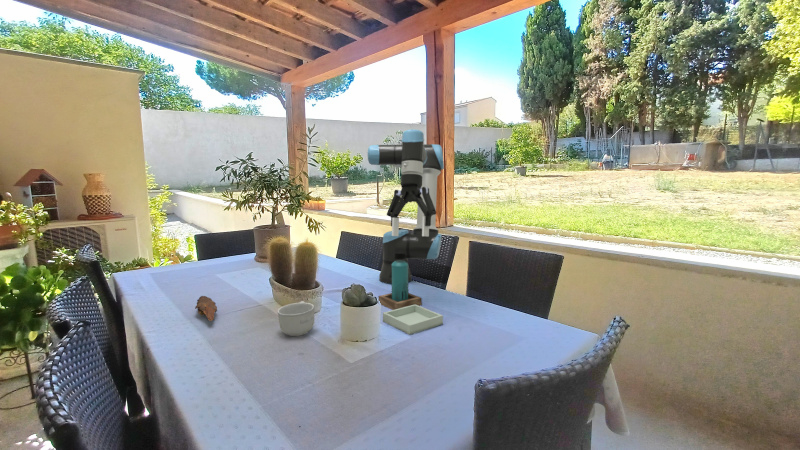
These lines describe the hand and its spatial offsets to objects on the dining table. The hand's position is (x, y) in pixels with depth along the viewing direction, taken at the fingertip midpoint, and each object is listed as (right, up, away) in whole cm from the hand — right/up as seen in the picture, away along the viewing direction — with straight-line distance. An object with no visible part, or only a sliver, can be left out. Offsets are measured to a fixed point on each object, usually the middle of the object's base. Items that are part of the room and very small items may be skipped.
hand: (409, 236), depth 132 cm
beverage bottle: (-3, -26, +13) cm, 29 cm away
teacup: (-35, -29, -12) cm, 47 cm away
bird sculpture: (-70, -28, 0) cm, 75 cm away
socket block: (-3, -26, +13) cm, 29 cm away
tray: (+1, -28, -5) cm, 29 cm away
